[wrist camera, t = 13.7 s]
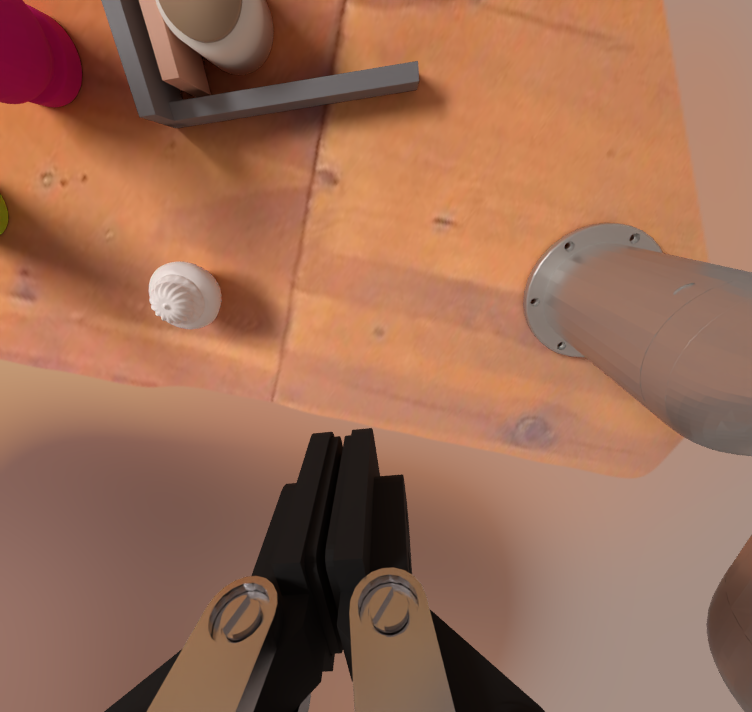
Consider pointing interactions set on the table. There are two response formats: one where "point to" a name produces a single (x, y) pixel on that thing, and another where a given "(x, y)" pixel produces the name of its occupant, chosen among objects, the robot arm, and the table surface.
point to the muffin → (184, 295)
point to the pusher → (174, 54)
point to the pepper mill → (36, 58)
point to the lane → (173, 111)
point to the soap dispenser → (3, 215)
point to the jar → (223, 30)
